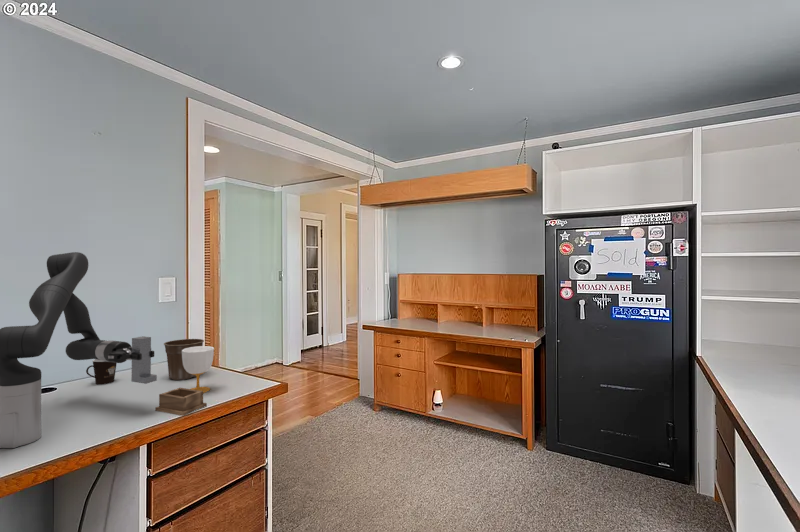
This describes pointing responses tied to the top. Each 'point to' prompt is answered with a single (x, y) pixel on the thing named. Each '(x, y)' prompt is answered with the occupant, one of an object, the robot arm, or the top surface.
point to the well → (180, 401)
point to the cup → (198, 362)
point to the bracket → (142, 361)
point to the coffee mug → (103, 371)
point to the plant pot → (179, 357)
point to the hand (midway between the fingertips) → (147, 355)
